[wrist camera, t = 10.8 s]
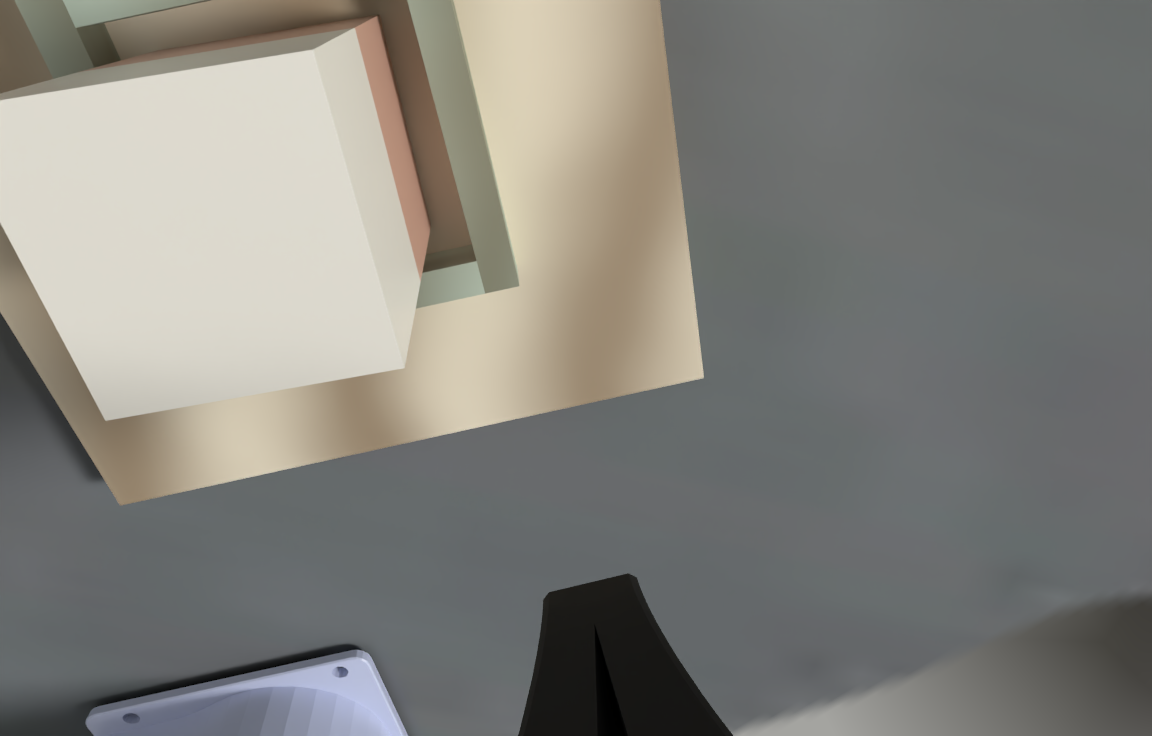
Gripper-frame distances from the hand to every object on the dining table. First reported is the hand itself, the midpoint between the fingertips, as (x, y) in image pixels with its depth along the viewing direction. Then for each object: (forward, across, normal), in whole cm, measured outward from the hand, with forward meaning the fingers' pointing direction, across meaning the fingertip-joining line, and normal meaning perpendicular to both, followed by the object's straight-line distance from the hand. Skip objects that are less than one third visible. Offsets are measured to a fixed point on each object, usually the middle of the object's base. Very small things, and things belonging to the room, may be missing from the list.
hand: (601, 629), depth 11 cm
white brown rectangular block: (+9, +4, -6) cm, 12 cm away
